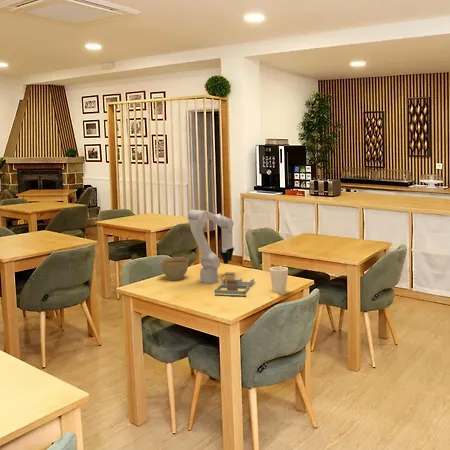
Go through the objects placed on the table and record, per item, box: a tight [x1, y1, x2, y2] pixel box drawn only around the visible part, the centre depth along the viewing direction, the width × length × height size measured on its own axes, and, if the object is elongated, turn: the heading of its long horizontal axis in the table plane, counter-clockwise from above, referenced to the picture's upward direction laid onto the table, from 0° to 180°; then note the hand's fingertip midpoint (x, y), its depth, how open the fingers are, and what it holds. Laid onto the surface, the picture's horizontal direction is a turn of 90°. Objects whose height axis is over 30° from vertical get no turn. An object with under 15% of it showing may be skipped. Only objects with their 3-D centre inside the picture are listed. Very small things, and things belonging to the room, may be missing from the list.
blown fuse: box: [226, 280, 239, 291], centre depth 291 cm, size 5×3×6 cm, turn 76°
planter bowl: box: [160, 256, 190, 281], centre depth 325 cm, size 16×16×11 cm
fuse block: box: [221, 276, 256, 288], centre depth 303 cm, size 10×17×4 cm, turn 75°
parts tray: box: [214, 284, 251, 298], centre depth 291 cm, size 16×11×3 cm
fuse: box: [224, 271, 236, 284], centre depth 304 cm, size 5×3×6 cm, turn 75°
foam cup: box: [269, 266, 289, 296], centre depth 288 cm, size 10×9×13 cm
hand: (227, 262), depth 321 cm, fingers open, 7 cm apart
